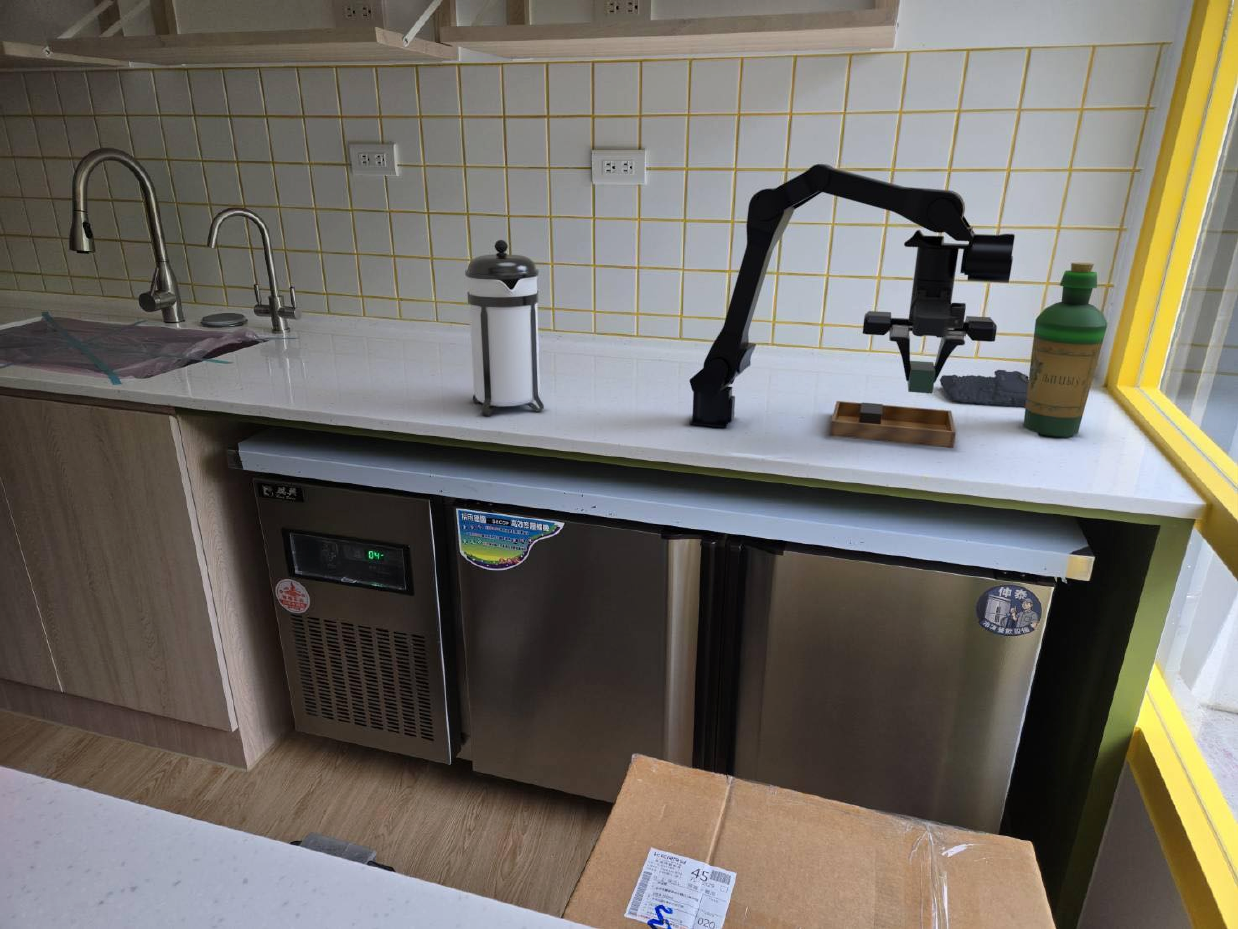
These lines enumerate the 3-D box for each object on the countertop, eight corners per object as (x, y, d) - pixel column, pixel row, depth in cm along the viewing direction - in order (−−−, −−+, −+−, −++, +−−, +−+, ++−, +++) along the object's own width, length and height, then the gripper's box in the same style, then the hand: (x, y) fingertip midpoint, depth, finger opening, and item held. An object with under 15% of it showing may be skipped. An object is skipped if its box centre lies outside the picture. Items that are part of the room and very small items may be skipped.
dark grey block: (857, 432, 137) (859, 412, 136) (859, 421, 143) (861, 402, 142) (879, 434, 136) (882, 414, 135) (880, 423, 142) (882, 404, 141)
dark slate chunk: (933, 384, 170) (936, 361, 169) (1046, 389, 167) (1050, 366, 165) (947, 403, 156) (951, 379, 155) (1071, 410, 153) (1076, 385, 151)
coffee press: (566, 401, 156) (564, 238, 145) (515, 422, 143) (508, 244, 132) (494, 389, 164) (487, 234, 154) (440, 408, 151) (428, 240, 141)
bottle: (1005, 430, 140) (1035, 263, 131) (1029, 418, 147) (1059, 258, 138) (1072, 444, 133) (1108, 268, 124) (1094, 431, 140) (1129, 263, 131)
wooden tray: (829, 438, 136) (831, 420, 135) (835, 416, 147) (836, 400, 146) (953, 450, 130) (955, 432, 129) (948, 427, 142) (951, 410, 141)
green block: (908, 391, 125) (911, 369, 124) (907, 382, 131) (910, 360, 130) (932, 393, 124) (935, 371, 123) (930, 383, 130) (933, 362, 129)
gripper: (867, 282, 117) (856, 389, 122) (1009, 288, 112) (991, 399, 117) (869, 274, 127) (858, 372, 132) (999, 279, 122) (983, 381, 127)
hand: (920, 381), depth 127 cm, fingers closed on green block, 3 cm apart
